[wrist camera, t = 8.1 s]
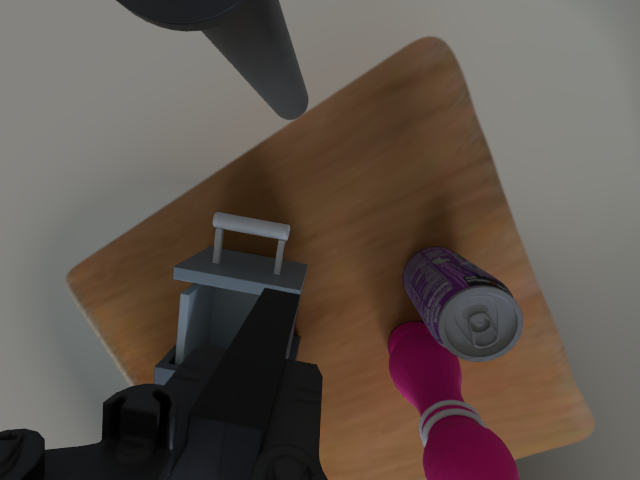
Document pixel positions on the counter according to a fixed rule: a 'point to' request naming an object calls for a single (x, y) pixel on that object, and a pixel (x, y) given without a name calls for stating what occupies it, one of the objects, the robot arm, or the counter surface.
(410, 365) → the pepper mill
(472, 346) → the beverage can
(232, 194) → the counter surface
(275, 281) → the drawer
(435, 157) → the counter surface
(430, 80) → the counter surface
